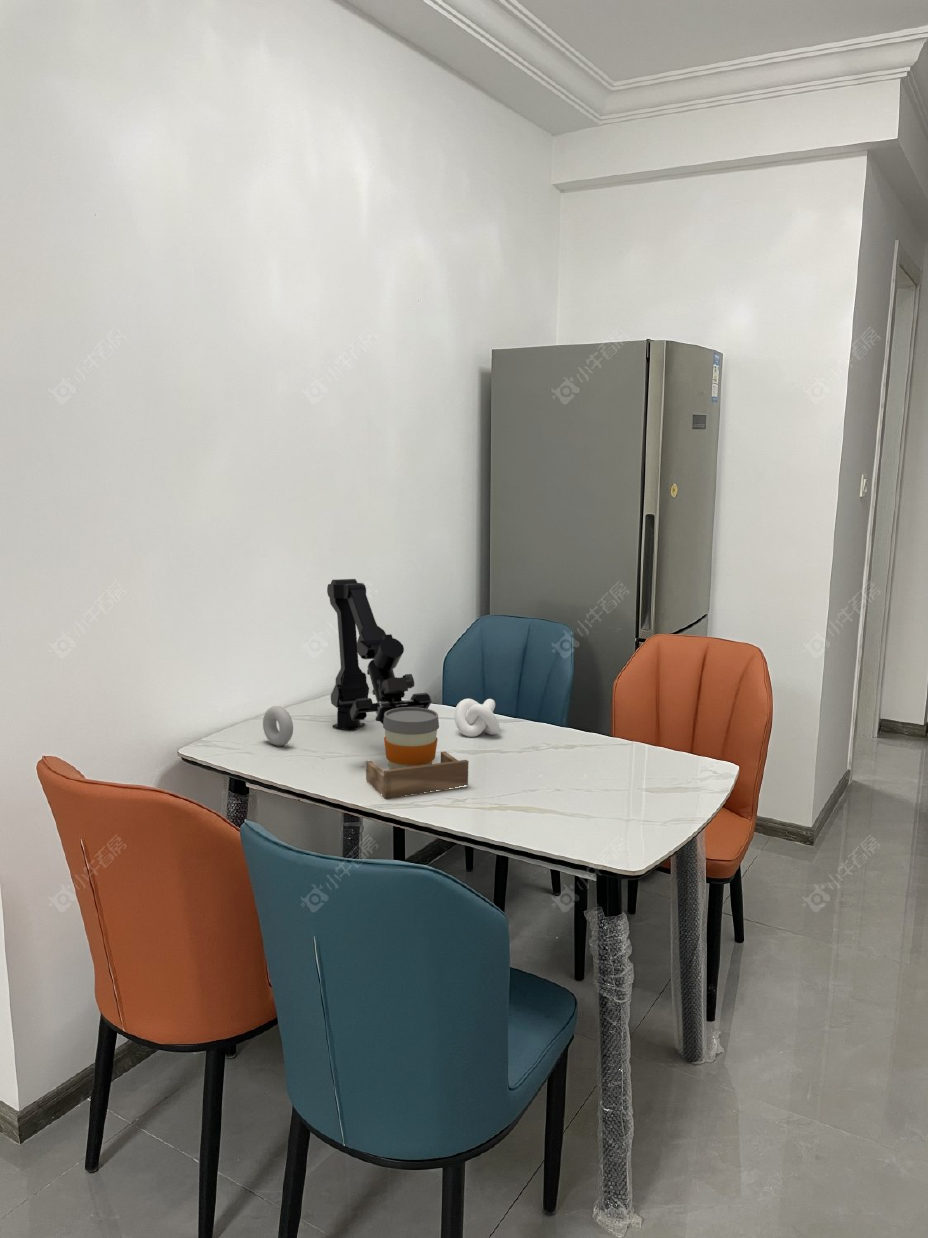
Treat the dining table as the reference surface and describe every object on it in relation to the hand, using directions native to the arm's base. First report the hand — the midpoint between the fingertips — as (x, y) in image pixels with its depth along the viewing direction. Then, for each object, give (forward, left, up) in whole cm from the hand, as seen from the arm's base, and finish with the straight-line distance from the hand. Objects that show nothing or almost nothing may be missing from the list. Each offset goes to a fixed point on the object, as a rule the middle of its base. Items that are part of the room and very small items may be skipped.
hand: (400, 738), depth 217 cm
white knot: (-34, +4, -8) cm, 35 cm away
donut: (-1, -35, -8) cm, 36 cm away
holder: (+7, +8, -8) cm, 13 cm away
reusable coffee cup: (+4, +5, -8) cm, 10 cm away
